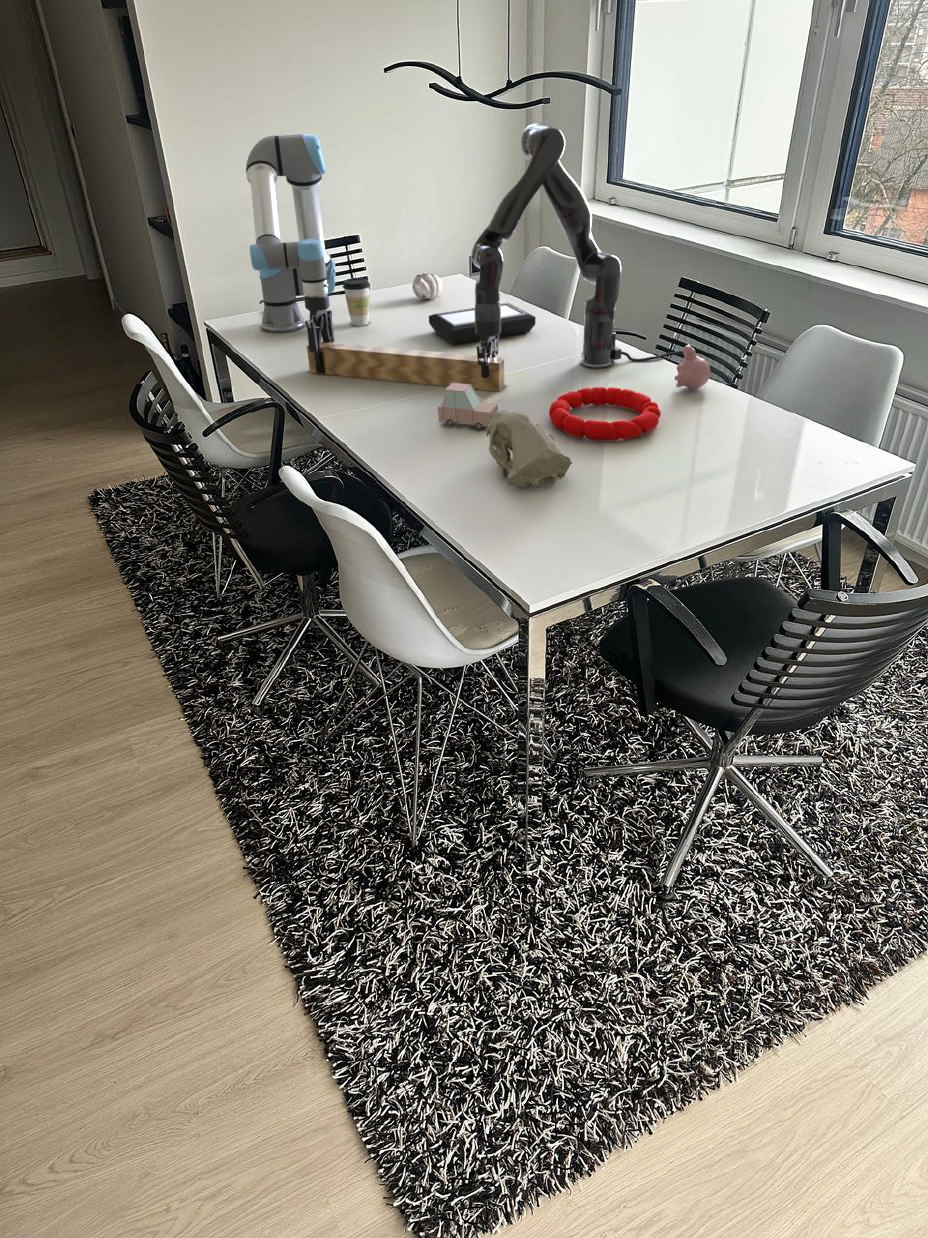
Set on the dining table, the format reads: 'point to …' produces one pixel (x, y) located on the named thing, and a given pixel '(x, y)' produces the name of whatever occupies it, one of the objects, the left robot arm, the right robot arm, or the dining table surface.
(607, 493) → the dining table surface
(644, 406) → the decorative ring
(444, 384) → the beam
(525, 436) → the grey brown rock
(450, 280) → the dining table surface
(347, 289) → the coffee cup
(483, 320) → the right robot arm
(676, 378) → the figurine
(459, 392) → the toy car
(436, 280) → the seashell
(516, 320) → the electronic device
